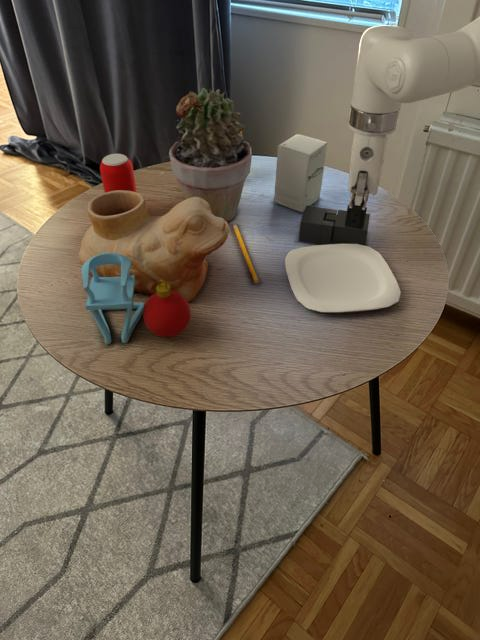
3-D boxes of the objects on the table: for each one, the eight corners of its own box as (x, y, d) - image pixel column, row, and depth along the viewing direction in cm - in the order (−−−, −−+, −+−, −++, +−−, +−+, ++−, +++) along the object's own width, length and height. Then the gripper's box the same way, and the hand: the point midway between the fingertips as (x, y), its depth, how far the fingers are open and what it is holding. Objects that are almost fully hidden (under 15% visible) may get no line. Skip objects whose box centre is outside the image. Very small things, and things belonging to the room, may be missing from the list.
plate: (373, 248, 91) (375, 240, 90) (408, 313, 78) (411, 305, 77) (278, 254, 89) (279, 246, 88) (298, 322, 76) (299, 314, 75)
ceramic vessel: (218, 313, 78) (215, 234, 67) (69, 288, 82) (45, 211, 72) (238, 262, 88) (238, 187, 77) (104, 243, 92) (87, 168, 81)
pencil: (236, 225, 96) (236, 222, 96) (258, 282, 84) (258, 279, 83) (232, 226, 96) (232, 223, 96) (254, 283, 83) (254, 280, 83)
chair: (90, 345, 73) (71, 284, 64) (97, 308, 79) (80, 247, 70) (142, 342, 73) (130, 280, 65) (145, 305, 79) (134, 245, 71)
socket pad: (333, 229, 95) (337, 209, 92) (329, 246, 91) (333, 226, 88) (303, 225, 97) (306, 205, 94) (298, 241, 92) (300, 221, 89)
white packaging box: (302, 213, 100) (309, 154, 91) (273, 202, 103) (276, 144, 94) (320, 199, 104) (328, 141, 95) (291, 188, 107) (296, 132, 98)
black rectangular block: (365, 234, 94) (370, 213, 91) (363, 251, 90) (367, 230, 87) (325, 227, 96) (328, 207, 93) (320, 244, 92) (323, 224, 89)
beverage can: (104, 220, 97) (92, 164, 89) (116, 205, 102) (106, 150, 94) (133, 224, 96) (123, 167, 88) (144, 208, 101) (136, 153, 93)
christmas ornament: (136, 336, 74) (126, 285, 67) (164, 309, 78) (157, 259, 72) (174, 353, 72) (167, 303, 65) (201, 324, 76) (197, 274, 69)
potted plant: (261, 188, 107) (265, 66, 90) (253, 238, 93) (257, 104, 76) (180, 183, 109) (170, 62, 91) (161, 232, 95) (144, 100, 77)
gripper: (395, 141, 70) (374, 242, 81) (399, 101, 82) (380, 193, 94) (343, 136, 71) (329, 235, 83) (354, 97, 83) (341, 188, 95)
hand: (356, 213), depth 88 cm, fingers open, 9 cm apart
